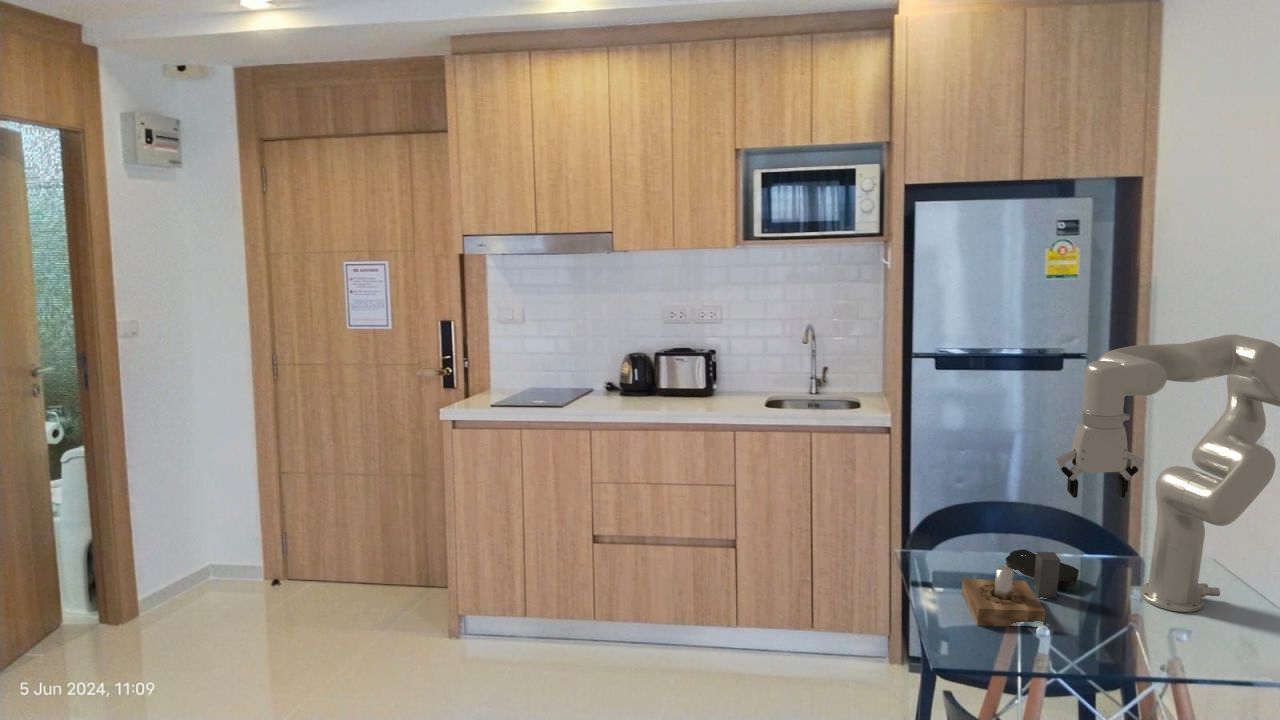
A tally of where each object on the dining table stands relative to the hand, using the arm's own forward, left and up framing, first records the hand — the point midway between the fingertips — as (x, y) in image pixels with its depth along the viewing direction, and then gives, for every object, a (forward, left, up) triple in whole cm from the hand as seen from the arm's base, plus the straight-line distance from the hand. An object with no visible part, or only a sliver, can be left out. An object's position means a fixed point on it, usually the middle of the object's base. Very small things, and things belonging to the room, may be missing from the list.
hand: (1096, 495), depth 193 cm
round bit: (+17, -1, -29) cm, 34 cm away
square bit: (+5, -9, -29) cm, 31 cm away
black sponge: (+3, -19, -29) cm, 35 cm away
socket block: (+17, -1, -29) cm, 34 cm away
